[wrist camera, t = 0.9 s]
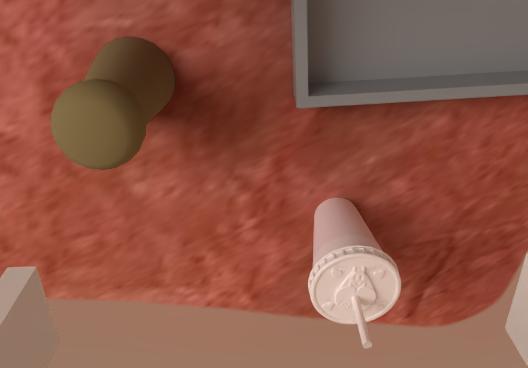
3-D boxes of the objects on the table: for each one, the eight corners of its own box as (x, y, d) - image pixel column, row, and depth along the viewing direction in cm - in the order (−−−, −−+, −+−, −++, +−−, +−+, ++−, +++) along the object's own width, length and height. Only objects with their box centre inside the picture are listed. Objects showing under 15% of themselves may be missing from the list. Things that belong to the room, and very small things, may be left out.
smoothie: (296, 246, 44) (312, 374, 32) (300, 182, 41) (320, 297, 29) (368, 246, 44) (412, 374, 32) (377, 183, 41) (429, 298, 29)
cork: (183, 51, 36) (157, 101, 26) (165, 126, 38) (135, 197, 29) (99, 25, 35) (38, 68, 25) (87, 104, 37) (28, 169, 28)
